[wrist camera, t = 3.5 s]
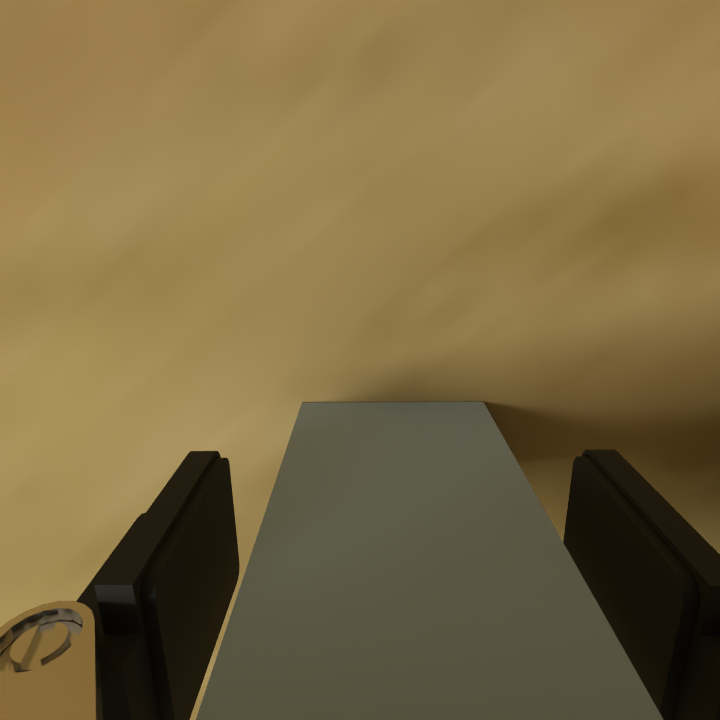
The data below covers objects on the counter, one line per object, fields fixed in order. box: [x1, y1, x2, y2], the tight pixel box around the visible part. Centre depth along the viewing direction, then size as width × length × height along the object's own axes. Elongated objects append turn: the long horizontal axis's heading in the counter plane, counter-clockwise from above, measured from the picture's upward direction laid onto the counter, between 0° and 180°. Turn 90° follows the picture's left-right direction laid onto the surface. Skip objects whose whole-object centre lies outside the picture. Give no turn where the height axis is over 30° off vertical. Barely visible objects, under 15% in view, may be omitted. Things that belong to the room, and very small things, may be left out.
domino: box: [196, 402, 663, 720], centre depth 10 cm, size 2×5×10 cm, turn 91°
